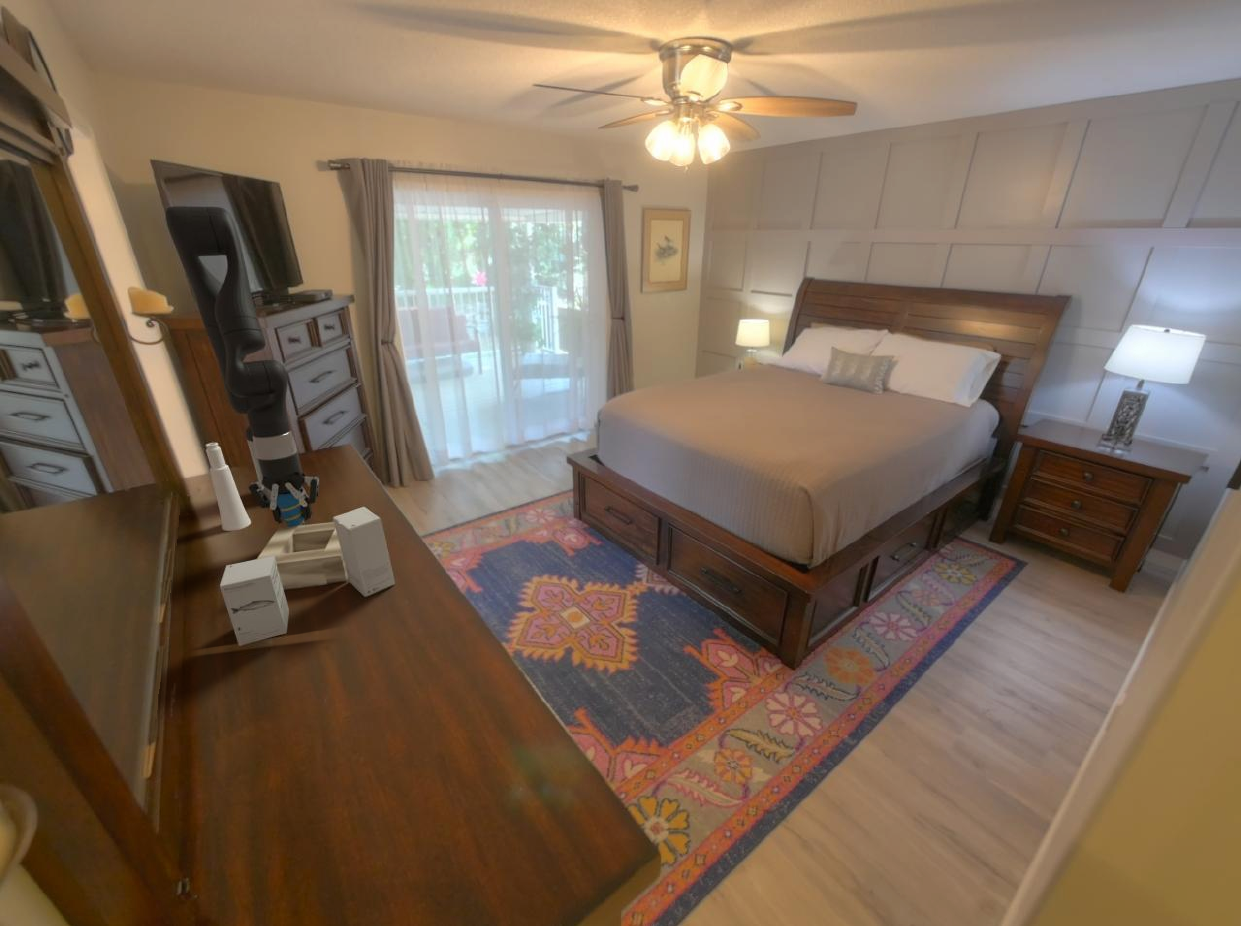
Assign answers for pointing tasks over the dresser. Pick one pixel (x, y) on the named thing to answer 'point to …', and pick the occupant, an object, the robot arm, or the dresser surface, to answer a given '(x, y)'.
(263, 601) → the supplement box
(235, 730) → the dresser surface
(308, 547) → the socket block
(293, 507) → the ornament
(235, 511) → the cosmetic bottle
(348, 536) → the skincare box
